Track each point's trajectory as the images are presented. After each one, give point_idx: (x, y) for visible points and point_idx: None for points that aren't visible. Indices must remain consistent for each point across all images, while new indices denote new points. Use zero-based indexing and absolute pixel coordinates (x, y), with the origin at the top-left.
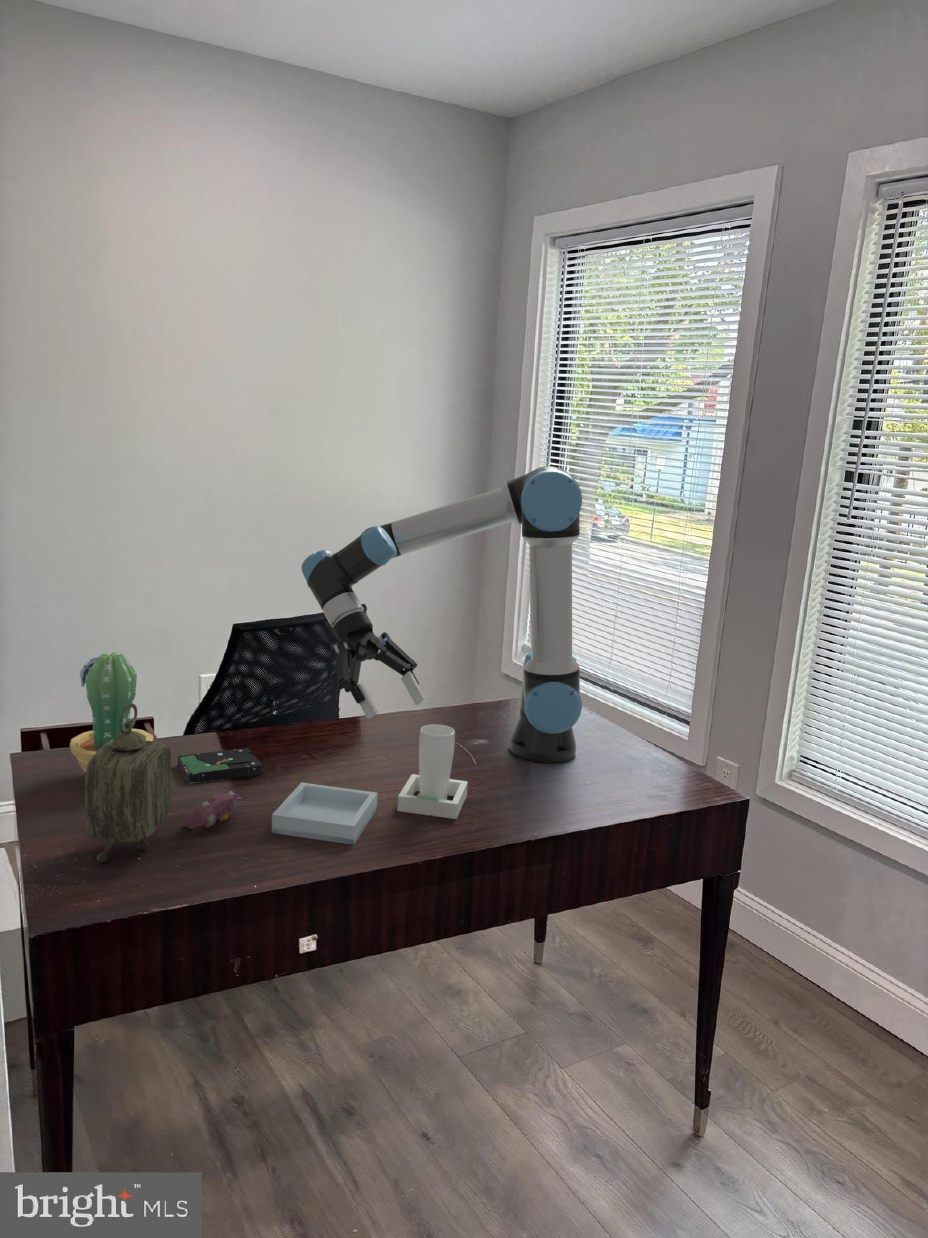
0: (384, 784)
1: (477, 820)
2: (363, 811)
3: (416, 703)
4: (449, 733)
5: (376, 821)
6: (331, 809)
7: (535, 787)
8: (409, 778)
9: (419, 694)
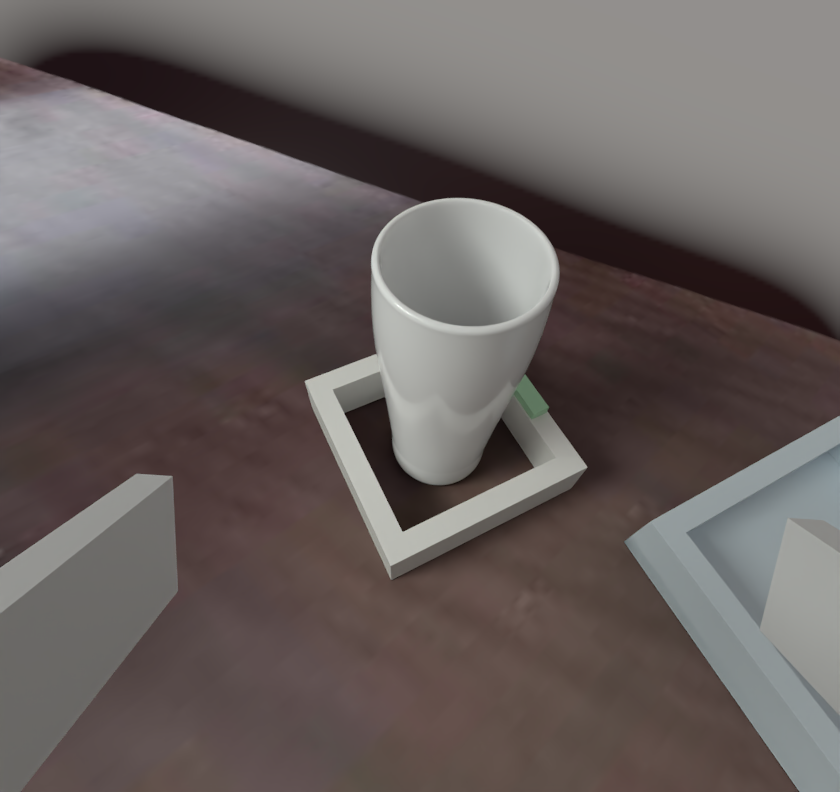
0: (438, 692)
1: None
2: (782, 452)
3: (171, 581)
4: (382, 267)
5: (673, 487)
6: None
7: (122, 309)
8: (434, 542)
9: (143, 518)
